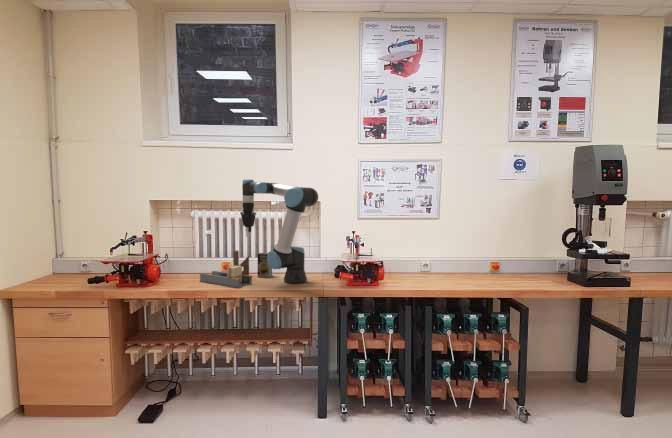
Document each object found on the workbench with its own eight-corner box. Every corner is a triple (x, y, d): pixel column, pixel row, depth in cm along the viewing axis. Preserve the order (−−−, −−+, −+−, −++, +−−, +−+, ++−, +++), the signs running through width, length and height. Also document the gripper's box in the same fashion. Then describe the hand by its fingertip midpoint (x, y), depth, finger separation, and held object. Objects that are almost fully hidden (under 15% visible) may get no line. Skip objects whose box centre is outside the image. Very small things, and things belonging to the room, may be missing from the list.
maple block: (242, 281, 234) (241, 266, 234) (233, 283, 228) (233, 268, 228) (235, 280, 237) (235, 265, 237) (226, 282, 231) (226, 267, 231)
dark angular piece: (248, 276, 256) (248, 251, 255) (232, 276, 255) (232, 251, 254) (249, 275, 260) (249, 250, 259) (233, 275, 259) (233, 250, 258)
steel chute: (251, 284, 234) (251, 275, 233) (237, 287, 223) (237, 279, 223) (214, 277, 251) (214, 270, 250) (199, 281, 240) (199, 273, 240)
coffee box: (257, 276, 255) (257, 253, 255) (260, 275, 262) (260, 252, 261) (269, 277, 254) (269, 254, 253) (272, 275, 261) (272, 252, 260)
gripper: (259, 202, 250) (259, 236, 251) (245, 202, 256) (245, 235, 257) (251, 202, 243) (251, 237, 244) (237, 202, 250) (237, 236, 251)
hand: (248, 236), depth 251 cm, fingers closed
